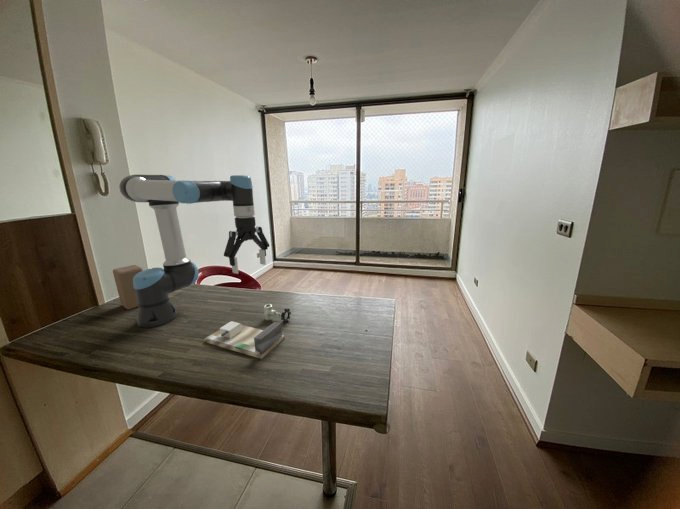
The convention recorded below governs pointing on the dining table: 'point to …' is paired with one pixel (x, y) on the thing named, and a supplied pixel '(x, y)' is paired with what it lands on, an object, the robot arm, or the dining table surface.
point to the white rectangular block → (230, 329)
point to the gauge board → (250, 340)
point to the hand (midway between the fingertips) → (250, 268)
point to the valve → (275, 313)
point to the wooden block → (126, 285)
